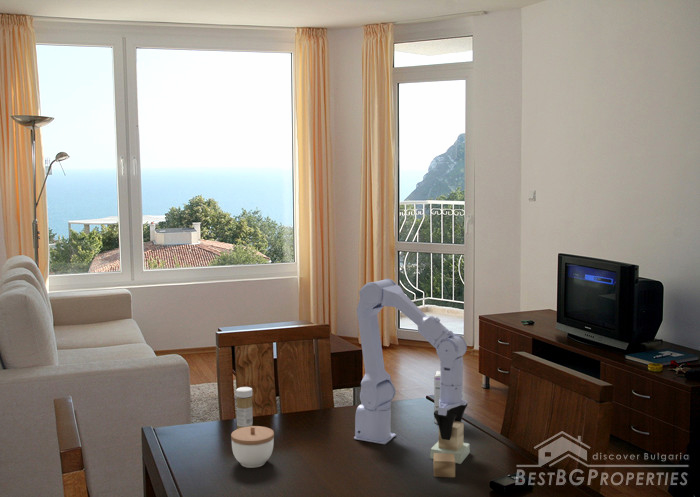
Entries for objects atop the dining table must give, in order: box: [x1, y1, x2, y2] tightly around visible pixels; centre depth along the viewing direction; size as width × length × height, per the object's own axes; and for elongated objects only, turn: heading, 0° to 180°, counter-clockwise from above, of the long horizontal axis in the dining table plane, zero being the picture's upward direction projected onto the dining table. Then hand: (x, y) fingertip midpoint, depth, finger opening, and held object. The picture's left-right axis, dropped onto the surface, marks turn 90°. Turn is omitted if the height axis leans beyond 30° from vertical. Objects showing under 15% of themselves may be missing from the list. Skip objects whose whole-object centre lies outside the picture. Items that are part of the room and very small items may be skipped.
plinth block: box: [430, 440, 471, 465], centre depth 179 cm, size 8×8×3 cm
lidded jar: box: [230, 425, 275, 469], centre depth 173 cm, size 11×11×9 cm
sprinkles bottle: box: [235, 386, 254, 430], centre depth 192 cm, size 5×5×13 cm
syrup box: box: [433, 370, 440, 424], centre depth 205 cm, size 6×6×14 cm
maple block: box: [438, 421, 465, 451], centre depth 178 cm, size 5×5×6 cm
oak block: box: [432, 453, 456, 478], centre depth 168 cm, size 5×5×4 cm
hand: (450, 434), depth 178 cm, fingers open, 7 cm apart
